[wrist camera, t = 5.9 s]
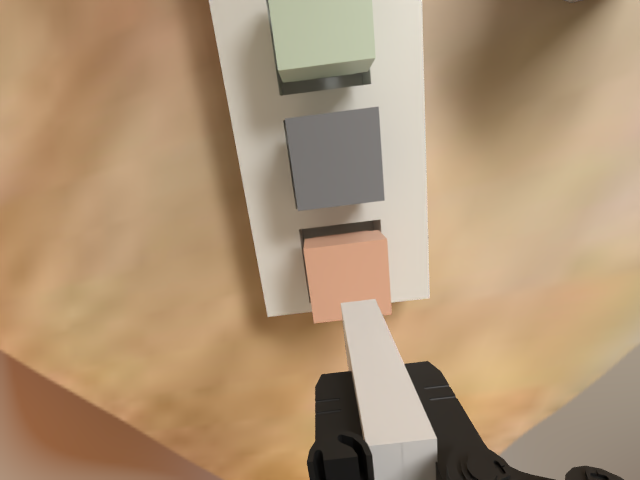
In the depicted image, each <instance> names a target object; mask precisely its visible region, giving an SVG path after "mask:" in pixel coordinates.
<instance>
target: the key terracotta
mask: <svg viewBox="0 0 640 480" xmlns="http://www.w3.org/2000/svg"><path fill="white" fill-rule="evenodd" d="M303 250H304V257H305V264H306V271H307V278H308V285H309V292H310V299H311V306H312V314H313V321H314V323H322V322H331V321H339V320H342V312H341V303H344V302H353V301H362V300H370V299H376V301H377V304H378V306H379V308H380V310H381V313H382V315H391V314H392V308H391V292H390V276H389V261H388V245H387V238H386V237H385V236H384V235H383V234H382V233H381V232H380V231H379V230H373V231H368V230H366V231H358V232H350V233H341V234H333V235H325V236H317V237H312V238H307V239H305V241H304V248H303Z"/></svg>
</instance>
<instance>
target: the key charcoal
mask: <svg viewBox="0 0 640 480" xmlns="http://www.w3.org/2000/svg"><path fill="white" fill-rule="evenodd" d="M285 123H286V130H287V137H288V144H289V151H290V158H291V165H292V172H293V180H294V187H295V194H296V201H297V208H298V211H304V210H312V209H320V208H328V207H336V206H344V205H353V204H361V203H369V202H377V201H385V198H384V182H383V166H382V150H381V135H380V119H379V106H378V107H371V108H363V109H355V110H347V111H339V112H332V113H324V114H316V115H308V116H300V117H292V118H285Z"/></svg>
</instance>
